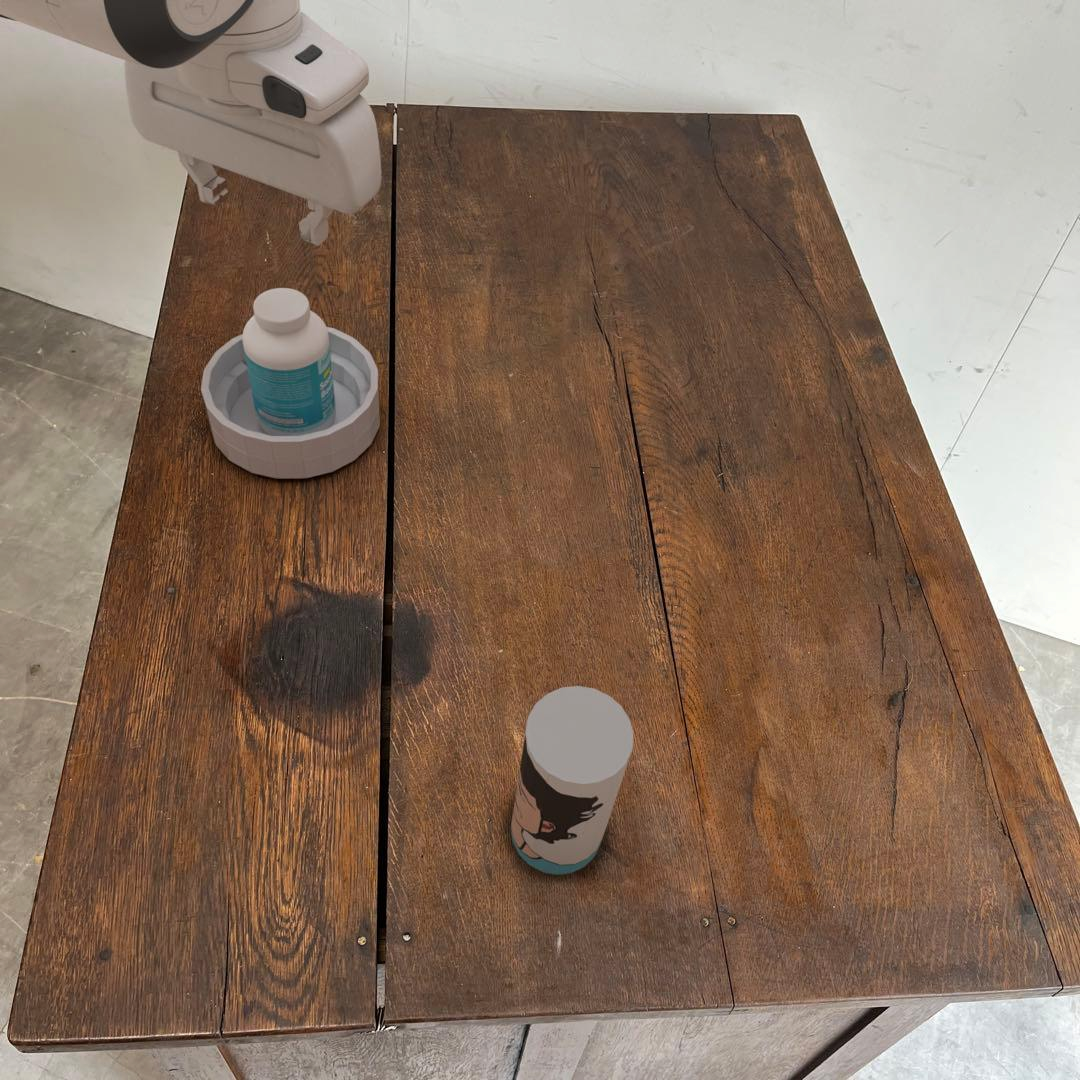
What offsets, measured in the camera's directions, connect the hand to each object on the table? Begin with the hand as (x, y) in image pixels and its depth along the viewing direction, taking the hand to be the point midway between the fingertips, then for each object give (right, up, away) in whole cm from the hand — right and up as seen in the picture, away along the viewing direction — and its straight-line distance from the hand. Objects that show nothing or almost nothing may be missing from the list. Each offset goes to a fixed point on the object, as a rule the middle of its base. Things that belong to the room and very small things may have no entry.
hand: (264, 220), depth 82 cm
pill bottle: (-1, -14, +17) cm, 22 cm away
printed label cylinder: (+23, -47, -6) cm, 53 cm away
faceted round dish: (-1, -14, +17) cm, 22 cm away
